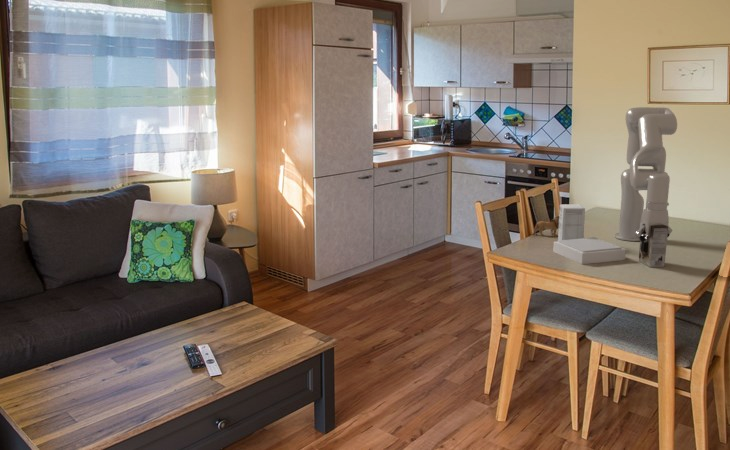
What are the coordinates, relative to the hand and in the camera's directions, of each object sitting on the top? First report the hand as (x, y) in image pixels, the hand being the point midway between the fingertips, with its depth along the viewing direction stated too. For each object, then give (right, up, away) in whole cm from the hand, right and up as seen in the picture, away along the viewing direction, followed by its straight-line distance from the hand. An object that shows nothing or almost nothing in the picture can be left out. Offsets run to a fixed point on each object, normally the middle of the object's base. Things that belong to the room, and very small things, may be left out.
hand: (652, 250), depth 258 cm
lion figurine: (-27, +5, +50) cm, 57 cm away
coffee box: (0, -5, +1) cm, 5 cm away
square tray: (-21, -3, +13) cm, 25 cm away
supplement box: (-22, +2, +34) cm, 40 cm away
